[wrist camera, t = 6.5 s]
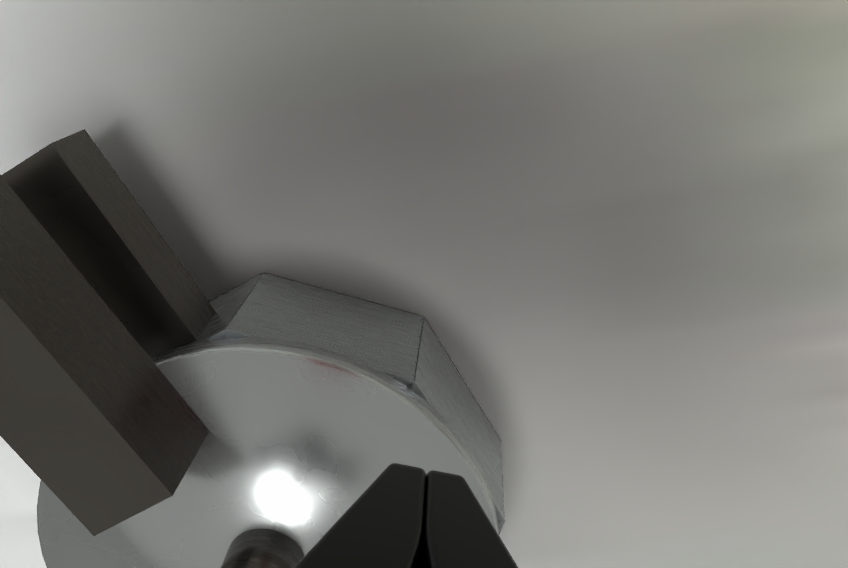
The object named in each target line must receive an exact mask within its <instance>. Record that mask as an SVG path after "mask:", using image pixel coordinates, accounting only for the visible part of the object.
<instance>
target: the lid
mask: <svg viewBox="0 0 848 568" xmlns="http://www.w3.org/2000/svg"><path fill="white" fill-rule="evenodd" d="M0 436H1V437H2V438H3V439H4V440H5V441H6V442H7V443H8V444H9V445H10V447H11V448H12V449H13V450H14V451H15V452H16V453H17V454H18V455H19V456H20V457H21V458H22V459H23V461H24V462H25V463H26V464H27V465H28V466H29V467H30V468H31V469H32V470H33V471H34V472H35V473H36V475H37V476H38V477H39V478H40V479H41V482H40V488H39V496H38V504H37V521H38V535H39V540H40V545H41V550H42V555H43V558H44V561H45V563H46V566H47V568H294V567H295V566H296V565H297V564H298V563H299V562H300V560H301V559H302V558H303V557H304V556H305V555H306V554H307V553H308V552H309V551H310V550H311V549H312V548H313V546H314V545H315V544H316V543H317V542H318V541H319V540H320V539H321V538H322V537H323V536H324V535H325V534H326V532H327V531H328V530H329V529H330V528H331V527H332V526H333V525H334V524H335V523H336V522H337V521H338V520H339V518H340V517H341V516H342V515H343V514H344V513H345V512H346V511H347V510H348V509H349V508H350V507H351V505H352V504H353V503H354V502H355V501H356V500H357V499H358V498H359V497H360V496H361V495H362V494H363V493H364V491H365V490H366V489H367V488H368V487H369V486H370V485H371V484H372V483H373V482H374V481H375V480H376V479H377V477H378V476H379V475H380V474H381V473H382V472H383V471H384V470H385V469H386V468H387V467H388V466H389V465H390V464H392V463H398V464H403V465H409V466H414V467H419V468H422V469H423V470H425V472H426V475H427V473H428V472H429V471H431V470H435V471H440V472H446V473H451V474H456V475H460V476H462V477H463V478H464V479H465V480H466V482H467V483H468V485H469V487H470V488H471V490H472V492H473V493H474V495H475V497H476V498H477V500H478V502H479V503H480V505H481V507H482V508H483V510H484V512H485V513H486V515H487V517H488V518H489V520H490V522H491V523H492V525H493V527H494V528H495V530H496V532H497V533H498V535H499V528H498V518H497V513H496V509H495V505H494V501H493V496H492V493H491V491H490V488H489V486H488V483H487V481H486V478H485V476H484V474H483V471H482V469H481V467H480V466H479V464H478V462H477V461H476V459H475V457H474V455H473V454H472V452H471V450H470V449H469V447H468V446H467V444H466V443H465V442H464V441H463V439H462V438H461V437H460V435H459V434H458V433H457V432H456V430H455V429H454V428H453V427H452V425H451V424H450V423H449V422H448V421H447V420H446V419H445V418H444V417H443V416H442V415H441V414H440V413H439V412H438V411H437V410H435V409H434V408H433V407H432V406H431V405H430V404H429V403H428V402H427V401H426V400H424V399H423V398H422V397H420V396H419V395H418V394H416V393H415V392H414V391H412V390H411V389H410V388H408V387H407V386H406V385H404V384H403V383H401V382H399V381H398V380H396V379H394V378H392V377H391V376H389V375H387V374H385V373H384V372H382V371H380V370H379V369H377V368H375V367H373V366H370V365H368V364H366V363H363V362H361V361H359V360H356V359H354V358H352V357H349V356H347V355H345V354H341V353H338V352H335V351H331V350H328V349H325V348H321V347H318V346H315V345H310V344H304V343H299V342H293V341H288V340H282V339H268V338H252V337H245V338H228V339H214V340H209V341H204V342H198V343H193V344H187V345H184V346H181V347H177V348H174V349H171V350H168V351H165V352H162V353H159V354H156V355H154V356H152V357H149V356H148V355H147V354H146V352H145V351H144V350H143V349H142V348H141V346H140V345H139V344H138V343H137V341H136V340H135V339H134V338H133V336H132V335H131V334H130V333H129V332H128V330H127V329H126V328H125V327H124V325H123V324H122V323H121V322H120V321H119V319H118V318H117V317H116V316H115V314H114V313H113V312H112V311H111V310H110V308H109V307H108V306H107V305H106V303H105V302H104V301H103V300H102V299H101V297H100V296H99V295H98V294H97V292H96V291H95V290H94V289H93V288H92V286H91V285H90V284H89V283H88V281H87V280H86V279H85V278H84V277H83V275H82V274H81V273H80V272H79V270H78V269H77V268H76V267H75V266H74V264H73V263H72V262H71V261H70V259H69V258H68V257H67V256H66V255H65V253H64V252H63V251H62V250H61V248H60V247H59V246H58V245H57V244H56V242H55V241H54V240H53V239H52V237H51V236H50V235H49V234H48V233H47V231H46V230H45V229H44V228H43V226H42V225H41V224H40V223H39V222H38V220H37V219H36V218H35V217H34V215H33V214H32V213H31V212H30V210H29V209H28V208H27V207H26V206H25V204H24V203H23V202H22V201H21V199H20V198H19V197H18V196H17V195H16V193H15V192H14V191H13V190H12V188H11V187H10V186H9V185H8V184H7V182H6V181H5V180H4V179H3V177H2V176H1V175H0Z"/></svg>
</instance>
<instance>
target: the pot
mask: <svg viewBox="0 0 848 568" xmlns="http://www.w3.org/2000/svg"><path fill="white" fill-rule="evenodd" d="M1 176H2V177H3V179H4V180H5V181H6V182H7V184H8V185H9V186H10V187H11V188H12V190H13V191H14V192H15V193H16V195H17V196H18V197H19V198H20V199H21V201H22V202H23V203H24V204H25V206H26V207H27V208H28V209H29V210H30V212H31V213H32V214H33V215H34V217H35V218H36V219H37V220H38V222H39V223H40V224H41V225H42V226H43V228H44V229H45V230H46V231H47V233H48V234H49V235H50V236H51V237H52V239H53V240H54V241H55V242H56V244H57V245H58V246H59V247H60V248H61V250H62V251H63V252H64V253H65V255H66V256H67V257H68V258H69V259H70V261H71V262H72V263H73V264H74V266H75V267H76V268H77V269H78V270H79V272H80V273H81V274H82V275H83V277H84V278H85V279H86V280H87V281H88V283H89V284H90V285H91V286H92V288H93V289H94V290H95V291H96V292H97V294H98V295H99V296H100V297H101V299H102V300H103V301H104V302H105V303H106V305H107V306H108V307H109V308H110V310H111V311H112V312H113V313H114V314H115V316H116V317H117V318H118V319H119V321H120V322H121V323H122V324H123V325H124V327H125V328H126V329H127V330H128V332H129V333H130V334H131V335H132V336H133V338H134V339H135V340H136V341H137V343H138V344H139V345H140V346H141V348H142V349H143V350H144V351H145V352H146V354H147V355H148V356H149V357H152V356H154V355H156V354H159V353H162V352H165V351H168V350H171V349H174V348H177V347H181V346H184V345H187V344H193V343H198V342H204V341H209V340H214V339H228V338H245V337H252V338H268V339H282V340H288V341H293V342H299V343H304V344H310V345H315V346H318V347H321V348H325V349H328V350H331V351H335V352H338V353H341V354H345V355H347V356H349V357H352V358H354V359H356V360H359V361H361V362H363V363H366V364H368V365H370V366H373V367H375V368H377V369H379V370H380V371H382V372H384V373H385V374H387V375H389V376H391V377H392V378H394V379H396V380H398V381H399V382H401V383H403V384H404V385H406V386H407V387H408V388H410V389H411V390H412V391H414V392H415V393H416V394H418V395H419V396H420V397H422V398H423V399H424V400H426V401H427V402H428V403H429V404H430V405H431V406H432V407H433V408H434V409H435V410H437V411H438V412H439V413H440V414H441V415H442V416H443V417H444V418H445V419H446V420H447V421H448V422H449V423H450V424H451V425H452V427H453V428H454V429H455V430H456V432H457V433H458V434H459V435H460V437H461V438H462V439H463V441H464V442H465V443H466V444H467V446H468V447H469V449H470V450H471V452H472V454H473V455H474V457H475V459H476V461H477V462H478V464H479V466H480V467H481V469H482V471H483V474H484V476H485V478H486V481H487V483H488V486H489V488H490V491H491V493H492V496H493V501H494V505H495V509H496V513H497V518H498V528H499V534H500V532H501V529H502V526H503V524H504V521H505V520H504V500H503V480H502V460H501V441H500V439H499V437H498V435H497V434H496V432H495V431H494V429H493V427H492V426H491V424H490V422H489V421H488V419H487V418H486V416H485V414H484V413H483V411H482V410H481V408H480V406H479V405H478V403H477V401H476V400H475V398H474V397H473V395H472V393H471V392H470V390H469V389H468V387H467V385H466V384H465V382H464V380H463V379H462V377H461V376H460V374H459V372H458V371H457V369H456V368H455V366H454V364H453V363H452V361H451V359H450V358H449V356H448V355H447V353H446V351H445V350H444V348H443V347H442V345H441V343H440V342H439V340H438V339H437V337H436V335H435V334H434V332H433V330H432V329H431V327H430V326H429V324H428V322H427V321H426V319H425V318H423V316H420V315H416V314H412V313H409V312H405V311H401V310H398V309H394V308H390V307H387V306H383V305H379V304H376V303H372V302H369V301H365V300H361V299H358V298H354V297H350V296H347V295H343V294H339V293H336V292H332V291H328V290H325V289H321V288H317V287H314V286H310V285H306V284H303V283H299V282H296V281H292V280H288V279H285V278H281V277H277V276H274V275H270V274H266V273H264V274H263V273H262V274H260V275H258V276H256V277H255V278H253V279H251V280H249V281H247V282H245V283H244V284H242V285H240V286H238V287H236V288H234V289H232V290H231V291H229V292H227V293H225V294H223V295H221V296H219V297H218V298H216V299H214V300H212V301H210V302H208V300H207V299H206V297H205V296H204V295H203V293H202V292H201V290H200V289H199V288H198V286H197V285H196V283H195V282H194V281H193V279H192V278H191V277H190V275H189V274H188V272H187V271H186V270H185V268H184V267H183V265H182V264H181V263H180V261H179V260H178V258H177V257H176V256H175V254H174V253H173V252H172V250H171V249H170V247H169V246H168V245H167V243H166V242H165V240H164V239H163V238H162V236H161V235H160V233H159V232H158V231H157V229H156V228H155V227H154V225H153V224H152V222H151V221H150V220H149V218H148V217H147V215H146V214H145V213H144V211H143V210H142V209H141V207H140V206H139V204H138V203H137V202H136V200H135V199H134V197H133V196H132V195H131V193H130V192H129V190H128V189H127V188H126V186H125V185H124V184H123V182H122V181H121V179H120V178H119V177H118V175H117V174H116V172H115V171H114V170H113V168H112V167H111V165H110V164H109V163H108V161H107V160H106V159H105V157H104V156H103V154H102V153H101V152H100V150H99V149H98V147H97V146H96V145H95V143H94V142H93V140H92V139H91V138H90V136H89V135H88V134H87V132H86V131H85V129H84V130H82V131H79V132H77V133H75V134H72V135H70V136H68V137H65V138H63V139H61V140H58V141H56V142H54V143H51V144H50V145H48V146H46V147H45V148H43V149H42V150H40V151H39V152H37V153H36V154H34V155H32V156H31V157H29V158H28V159H26V160H25V161H23V162H22V163H20V164H18V165H17V166H15V167H14V168H12V169H11V170H9V171H7V172H6V173H4V174H3V175H1Z"/></svg>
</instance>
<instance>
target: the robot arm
mask: <svg viewBox="0 0 848 568" xmlns="http://www.w3.org/2000/svg"><path fill="white" fill-rule="evenodd" d="M294 568H518V567H517V565H516V563H515V562H514V560H513V558H512V557H511V555H510V553H509V552H508V550H507V548H506V547H505V545H504V543H503V542H502V540H501V538H500V537H499V535H498V533H497V532H496V530H495V528H494V527H493V525H492V523H491V522H490V520H489V518H488V517H487V515H486V513H485V512H484V510H483V508H482V507H481V505H480V503H479V502H478V500H477V498H476V497H475V495H474V493H473V492H472V490H471V488H470V487H469V485H468V483H467V482H466V480H465V479H464V478H463V477H462V476H460V475H456V474H451V473H446V472H440V471H435V470H431V471H429V472H428V473H427V475H426V472H425V470H423V469H422V468H419V467H414V466H409V465H403V464H398V463H392V464H390V465H389V466H388V467H387V468H386V469H385V470H384V471H383V472H382V473H381V474H380V475H379V476H378V477H377V479H376V480H375V481H374V482H373V483H372V484H371V485H370V486H369V487H368V488H367V489H366V490H365V491H364V493H363V494H362V495H361V496H360V497H359V498H358V499H357V500H356V501H355V502H354V503H353V504H352V505H351V507H350V508H349V509H348V510H347V511H346V512H345V513H344V514H343V515H342V516H341V517H340V518H339V520H338V521H337V522H336V523H335V524H334V525H333V526H332V527H331V528H330V529H329V530H328V531H327V532H326V534H325V535H324V536H323V537H322V538H321V539H320V540H319V541H318V542H317V543H316V544H315V545H314V546H313V548H312V549H311V550H310V551H309V552H308V553H307V554H306V555H305V556H304V557H303V558H302V559H301V560H300V562H299V563H298V564H297V565H296V566H295V567H294Z"/></svg>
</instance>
